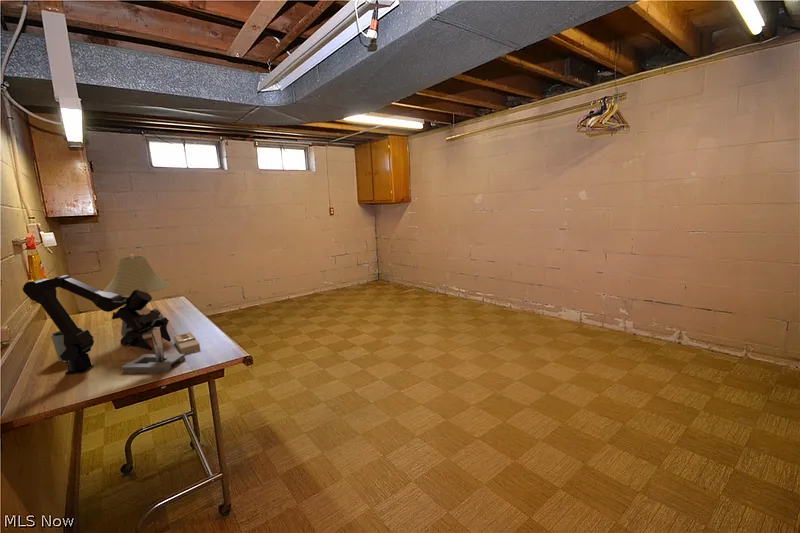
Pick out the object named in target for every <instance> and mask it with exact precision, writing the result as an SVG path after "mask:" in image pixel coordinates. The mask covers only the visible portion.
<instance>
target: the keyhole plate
mask: <svg viewBox="0 0 800 533" xmlns="http://www.w3.org/2000/svg"><path fill="white" fill-rule="evenodd" d="M164 358H165V361H163V362H157V361H156V355H155V353H144V354H142V355H141V356H139V357H137V358H135V359H133V360H131V361H130V362H128V363H126V364H124V365H122V366H121V367H120V369H121V370H122V371H121V372H122V373H167V372H169V371H170V370H172V365H173V364H174V363H175V364H179V363H182V362H184V361H185V360H186V353H185V354H181V353H164Z"/></svg>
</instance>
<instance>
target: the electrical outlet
mask: <svg viewBox="0 0 800 533" xmlns="http://www.w3.org/2000/svg"><path fill="white" fill-rule="evenodd" d="M173 342H174V344H175V346H176V347H177V349H178V351H179V350H180V351H179V352H180V354H185V355H186V354H189V353H191V352H192V351H193V352H195V350H197V351H200V350H201V347H200V346H201V345H200V342H198V340H197V339H196V336H195V335H194V334H193V333H192V332H190V331H188V332H184V333H180V334H179V333H178V334H175V335H174V336H173ZM199 349H200V350H199Z"/></svg>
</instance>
